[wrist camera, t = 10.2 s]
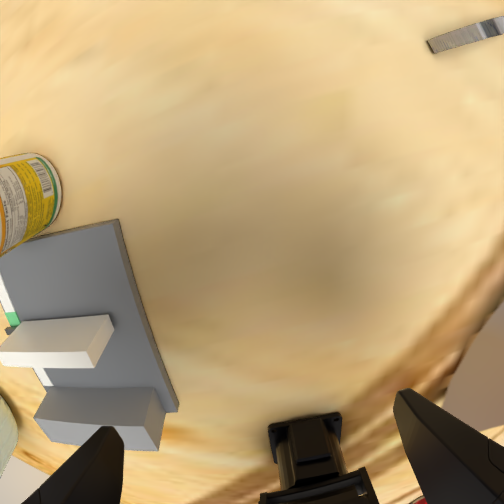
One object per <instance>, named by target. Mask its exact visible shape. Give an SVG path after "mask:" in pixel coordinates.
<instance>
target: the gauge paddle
mask: <svg viewBox="0 0 504 504" xmlns="http://www.w3.org/2000/svg"><path fill="white" fill-rule="evenodd" d="M5 331H6V333H7V335H10V336H9V337H8V338H7V339H6V340H5V341H4V342H3V344H2V345H1V346H0V360H1V362H2V364H3V366H12V367H33V368H95V366H96V364H97V362H98V360H99V358H100V356H101V354H102V352H103V350H104V349H105V347H106V345H107V343H108V341H109V339H110V337H111V335H112V333H113V332H114V328H113V325H112V322H111V320H110V317H109V315H97V316H86V317H75V318H63V319H50V320H37V321H22V322H21V323H20V324H19V326H17V327H7V328H6V329H5Z"/></svg>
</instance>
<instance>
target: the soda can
mask: <svg viewBox="0 0 504 504" xmlns="http://www.w3.org/2000/svg"><path fill="white" fill-rule="evenodd" d="M411 504H427V502H426V500H425V497H424V496H422V497H420V498H418V499H416V500H415V501H413V502H412V503H411Z"/></svg>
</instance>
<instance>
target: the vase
mask: <svg viewBox="0 0 504 504" xmlns="http://www.w3.org/2000/svg"><path fill="white" fill-rule="evenodd" d="M17 442H18V428H17V424H16V422H15V419H14V416H13V414H12V412H11V410H10V408H9V406H8V405H7V403H6V402H5V400H4V399H3V398H2V396H1V395H0V478H1V476H2V474H3V471H4V469H5V467H6V465H7V463H8V461H9V459H10V457H11V455H12V453H13V451H14V449H15V447H16V445H17Z"/></svg>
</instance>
